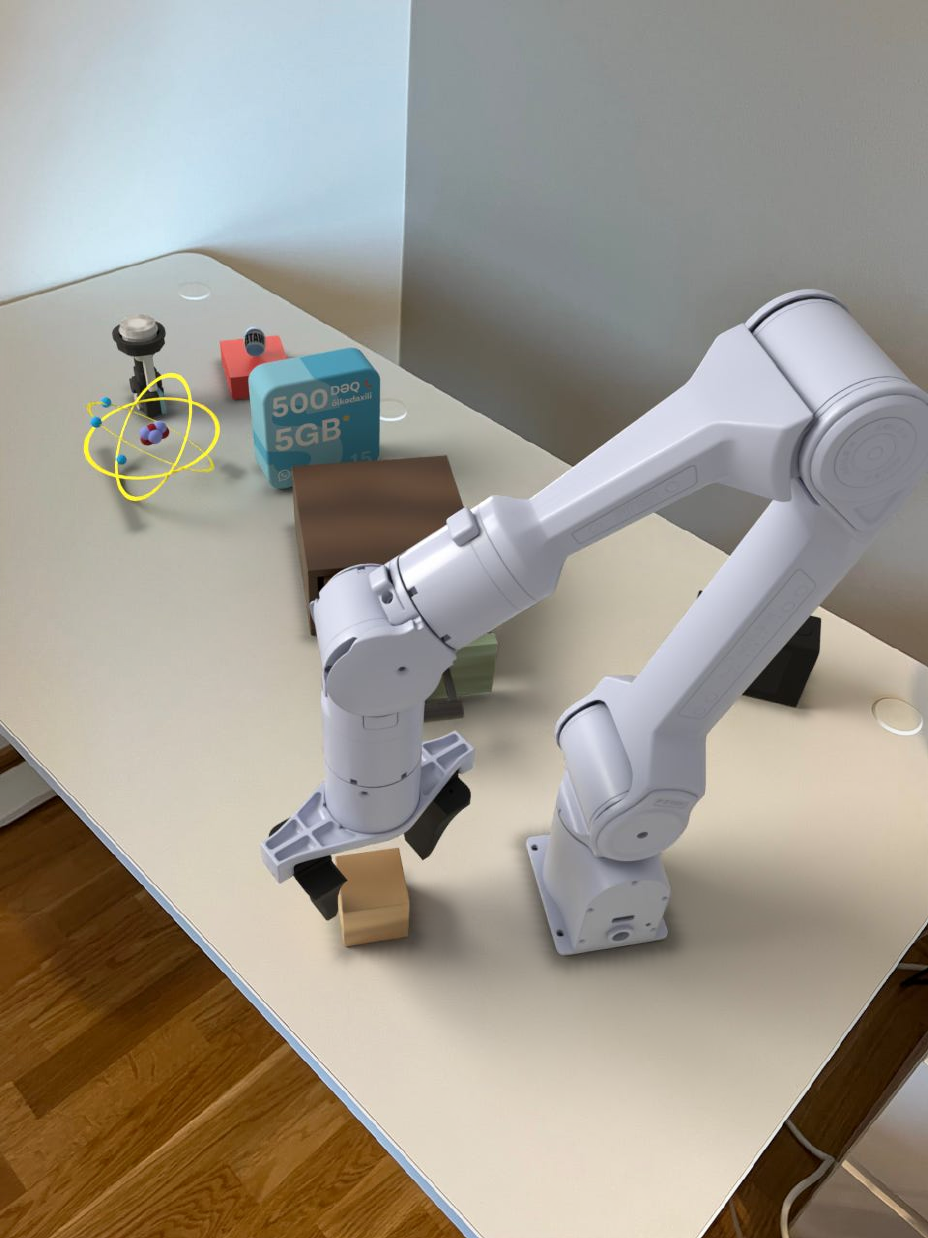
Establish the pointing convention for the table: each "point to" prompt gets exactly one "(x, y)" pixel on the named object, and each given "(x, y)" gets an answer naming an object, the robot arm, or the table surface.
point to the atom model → (149, 436)
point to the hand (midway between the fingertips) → (371, 877)
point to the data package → (314, 412)
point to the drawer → (460, 676)
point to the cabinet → (367, 513)
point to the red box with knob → (248, 358)
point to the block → (373, 897)
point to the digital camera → (789, 666)
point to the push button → (143, 358)
